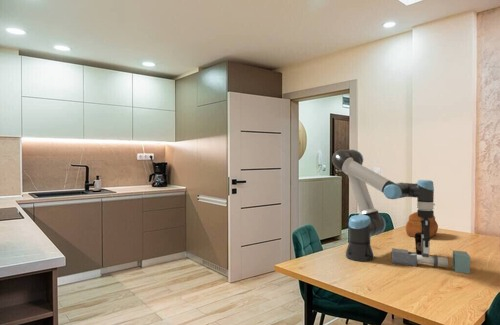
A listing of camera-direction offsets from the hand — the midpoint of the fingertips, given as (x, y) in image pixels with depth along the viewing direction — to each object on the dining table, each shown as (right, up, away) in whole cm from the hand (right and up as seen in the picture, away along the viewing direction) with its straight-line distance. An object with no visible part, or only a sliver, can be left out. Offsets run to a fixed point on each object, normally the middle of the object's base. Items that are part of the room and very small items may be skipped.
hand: (425, 249), depth 169 cm
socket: (+15, -9, -6) cm, 18 cm away
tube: (-3, -8, +1) cm, 9 cm away
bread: (+33, -7, +65) cm, 74 cm away
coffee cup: (+8, -8, +18) cm, 21 cm away
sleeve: (-9, -8, +4) cm, 13 cm away
